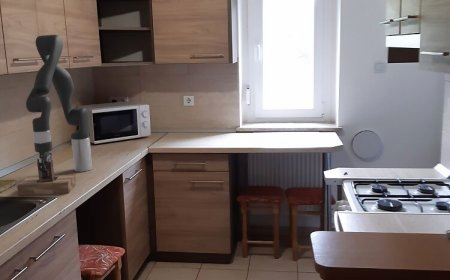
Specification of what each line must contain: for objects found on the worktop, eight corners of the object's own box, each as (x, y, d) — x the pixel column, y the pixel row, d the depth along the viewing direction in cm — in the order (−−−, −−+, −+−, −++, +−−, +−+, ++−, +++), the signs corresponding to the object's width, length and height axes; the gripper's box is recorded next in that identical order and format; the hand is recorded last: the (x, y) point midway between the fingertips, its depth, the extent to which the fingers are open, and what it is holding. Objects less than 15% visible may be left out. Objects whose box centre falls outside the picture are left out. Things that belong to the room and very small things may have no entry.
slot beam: (28, 187, 227) (27, 177, 226) (76, 184, 228) (75, 174, 227) (18, 196, 213) (17, 185, 212) (68, 193, 214) (67, 182, 214)
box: (55, 184, 223) (53, 159, 221) (53, 187, 218) (50, 161, 216) (42, 185, 222) (39, 160, 220) (39, 188, 218) (36, 162, 216)
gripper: (39, 138, 223) (43, 174, 226) (29, 144, 209) (33, 182, 212) (55, 137, 224) (59, 173, 227) (46, 143, 210) (50, 181, 213)
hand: (46, 177), depth 220 cm, fingers closed on box, 4 cm apart
